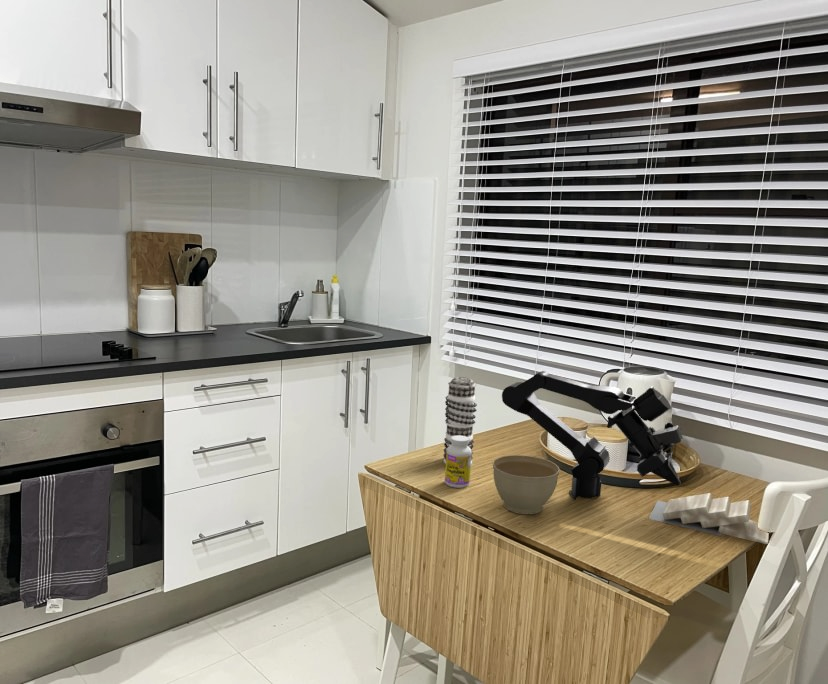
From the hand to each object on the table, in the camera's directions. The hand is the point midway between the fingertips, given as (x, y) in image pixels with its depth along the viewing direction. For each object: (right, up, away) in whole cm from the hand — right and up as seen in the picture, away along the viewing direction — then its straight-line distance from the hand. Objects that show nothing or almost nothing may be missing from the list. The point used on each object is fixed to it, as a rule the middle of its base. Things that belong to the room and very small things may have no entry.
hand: (679, 484), depth 158 cm
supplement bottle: (-52, -4, +17) cm, 55 cm away
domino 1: (-2, -7, +2) cm, 7 cm away
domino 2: (+1, -7, 0) cm, 7 cm away
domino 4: (+8, -8, -4) cm, 12 cm away
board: (+2, -9, 0) cm, 9 cm away
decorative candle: (-51, -1, +34) cm, 62 cm away
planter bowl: (-37, -7, +4) cm, 38 cm away
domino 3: (+5, -7, -2) cm, 9 cm away
